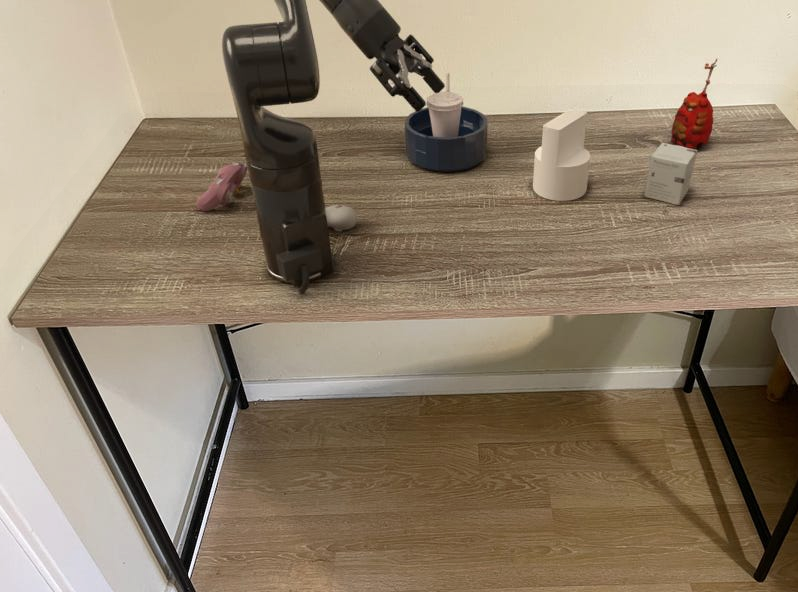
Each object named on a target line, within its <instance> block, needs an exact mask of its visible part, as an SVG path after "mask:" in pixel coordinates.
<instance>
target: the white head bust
mask: <svg viewBox="0 0 798 592" xmlns="http://www.w3.org/2000/svg"><path fill="white" fill-rule="evenodd" d="M325 210H326V216H327V224H328V228H333V230H334V231H336V232H339V233H341V232H343V230H346V231H347V230H351V229H353V228H354V227H355V226H356V225H357V223H358V215H357V214H358V213H357V212H356V210H355V209H354V208H353V207H351V206H347V205H342V204H333V205H329V206H327V207H325Z"/></svg>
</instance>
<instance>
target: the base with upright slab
mask: <svg viewBox="0 0 798 592" xmlns="http://www.w3.org/2000/svg"><path fill="white" fill-rule="evenodd" d="M587 122H588V112H587V111H585V110H582V109H580V108H579V109H578V108H573V107H570V108H569V109H568V110H565V111H564V112H563V113H561V114H559V115H557V116H556V117H554V118H552V119H550V120H549V121H547V122H546V123H544V124H543V125H542V138H541V146H539V147H538V148H536V149H535V152H534V161H533V175H532V176H533V177H532V189H533V191H534V193H535V194H536V195H538V196H539V197H541V198H544V199H546V200H550V201H557V202H567V201H573V200H578V199H580V198H581V197H583V196H584V195H585V194H586V193H587V189H588V181H589V171H590V162H591V153H590V152H589V150H588V149H587V148H585V139H586V138H585V137H586V131H587V130H586V129H587Z"/></svg>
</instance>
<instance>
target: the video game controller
mask: <svg viewBox="0 0 798 592" xmlns="http://www.w3.org/2000/svg"><path fill="white" fill-rule="evenodd" d="M247 172H248V167H247V165H244V164H242V163H240V162H236V161H234V160H233V161H232V162H231V163H230V164H227V165H224V166H223V167H221V168H219V170H218V172H217V175H216V177H215V178H214V179H213V181H212V182H211V184H210V185H209V188H208V189H207V190H206V191H205V192H204V193H202V195H200V196H199V197H198V198H197V200H196V203H195V204H196V208H197V209H198V210H199V211H201V212H209V211H212V210H214V209H215V208H217V207H218V206H219V205H222V206H223V207H224V206H226V205H227V204H228V202H229V200H230V198H232V197H234V196H235V195H236V194H238V193H239V191H240V189H239V188H240V186H241V184H242V183H243V181H244V179H245V177H246V175H247Z"/></svg>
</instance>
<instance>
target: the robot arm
mask: <svg viewBox="0 0 798 592" xmlns="http://www.w3.org/2000/svg"><path fill="white" fill-rule="evenodd" d="M273 1H274V3H275V5H276V7H277V10H278V11H279V13H280V16H281V18H282V20H283V21H278V22H276V21H274V22H262V23H260V22H259V23H249V24H248V23H247V24H236V25H231V26H228V27H227V28H225V30H224V31H223V34H222V39H221V53H222V59H223V64H224V70H225V73H226V78H227V82H228V85H229V88H230V93H231V96H232V99H233V103H234V104H233V105H234V108H235V111H236V116H237V119H238V120H237V121H238V125H239V131H240V134H241V141H242V147H243V151H244V157H245V161H246V167H247V168H248V169H247V172H248V176H249V181H250V187H251V192H252V197H253V202H254V206H255V212H256V218H257V222H258V228H259V234H260V239H261V242H262V248H263V251H264V256H265V263H266V264H265V265H266V269H267V273H268V274H269V276H270V277H271V278H273V279H274V280H276V281H279V282H282V283H287V284H291V285H292V286H294V287H298V286H300V287H299V288H298V290H297V291H298V293H299V294H300V295H304V294H305V293H306V291H307V290H308V289H309V286H310V282H313V281H315V280H319V279H321V278H324V277H326V276H329V275H331V274H334V273H335V269H334V257H333V253H332V248H331V247H332V246H331V240H330V233H329V227H328V224H327V216H326V210H325V209H326V203H325V196H324V189H323V183H322V182H323V181H322V175H321V165H320V159H319V151H318V144H317V138H316V133H315V132H314V129H312V127H310V125H308V124H306V123H304V122H302V121H299V120H296V119H292V118H289V117H284V116H281V115H279V114H277V113H274V112H272V111H270V110H268V109H267V108H265V107H271V106H281V105H290V104H302V103H309V102H312V101H314V100H315V99H316V98H317V97H318V95H319V93H320V92H319V91H320V85H321V76H320V75H321V74H320V67H319V66H320V65H319V59H318V54H317V48H316V43H315V38H314V34H313V33H314V32H313V29H312V25H311V24H312V23H311V20H310V14H309V10H308V5H307V2H306V1H307V0H273ZM318 1H319V3H321V4H322V5H323V6H324V8H325V9H326V10H327V11H328V12H329V13H330V15H331V16H332V17H333V19H334V20H335V21H336V22H337V24H338V26H339V27H340V28H341V30H342V31H343V32H344V33H345V34H346V36H348V37H349V39H350V40H351V41H352V43H353V44H354V45H355V46H356V47H357V48H358V49H359V51H360V52H361V53H362V54H363V55H364V56H365V57H366V58H367V59H368V60H373V59H374V58H375V59H376V60H375V61H374V62H373V63H372V64H371V66H370V67H369V71H370V72H371V74H372V75H373V76H374V77H375V78H376V79H377V81H378V82H379V83H380V84H381V85H382V87H383V89H385V90H386V92H387V93H388V95H390V96H391V97H393V98H394V97H396V96H399V97H402V98H404V99H405V101H406V102H407V103H408V105H410V106H411V108H412V109H413V110H414V112H415V111H417V112H419V111H420V110H421V109H423V108H425V106H427V104H426V103H427V101H426V100H424V98H423V97H422V96H421V94H419V92H418V90H416V89H415V88H414V87H413V86H412V85H411V83H410V80H409V77H408V76H409V74H412V73H415V74H417V75H418V76H420V77H422V79H423V81H424V82H425V83H426V85H427V86H428V87H429V89H431V90H432V91H433V94H434V93H439V92H442V90H443V89H445V87H446V86H445V85H446V83H444V81H442V79H441V78H440V77H439V75H438V74H436V72H435V71H434V70H433V63H434V62H435V60H434V58H433V57H432V55H431V54H430V53H429V52H428V51H427V50H426V49H425V48H424V46H422V44H421V43H420V42H419V41H418V40H417V39H416V37H415V36H414V35H413V34H409V35H407V36H406V37H405V38H404V40H403V38H401V37H400V35H399V34H400V33H401V30H402V28H401V26H400V24H399V23H398V22H397V21H396V20H395V19H394V17H393V16H392V15H391V14H390V13H389V11H388V10H387V9H386V8H385V6H383V4H382V3H381V2H380V1H379V0H318ZM392 85H393V87H392Z"/></svg>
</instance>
